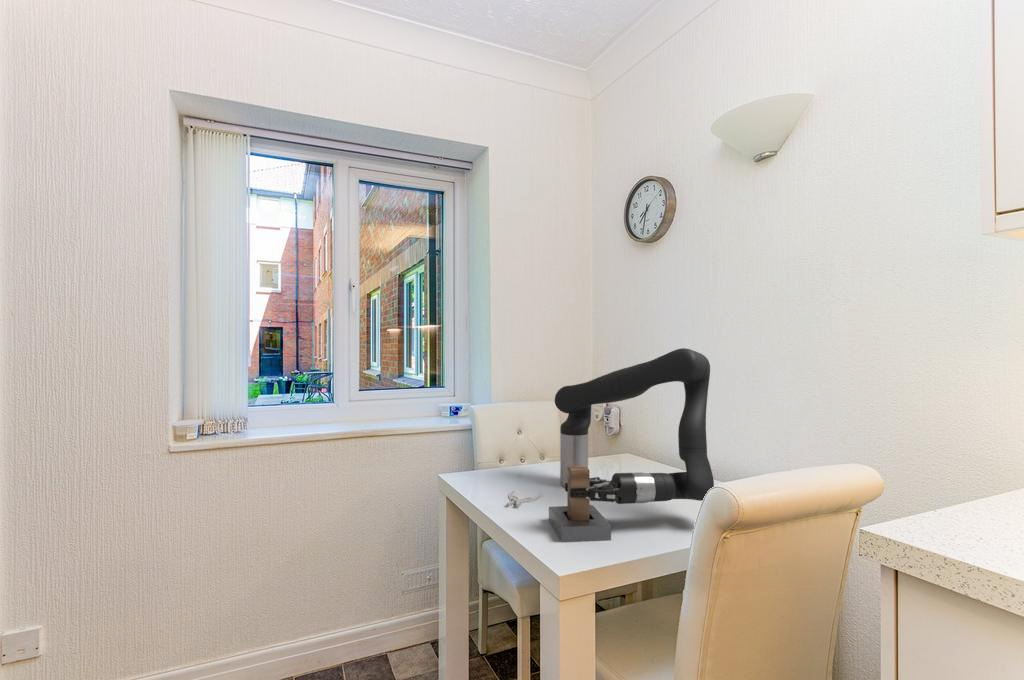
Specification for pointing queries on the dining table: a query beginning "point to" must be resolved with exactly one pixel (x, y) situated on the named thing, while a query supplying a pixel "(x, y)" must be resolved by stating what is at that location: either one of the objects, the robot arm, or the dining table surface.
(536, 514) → the dining table surface
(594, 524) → the socket block
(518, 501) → the pliers
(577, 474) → the walnut peg
